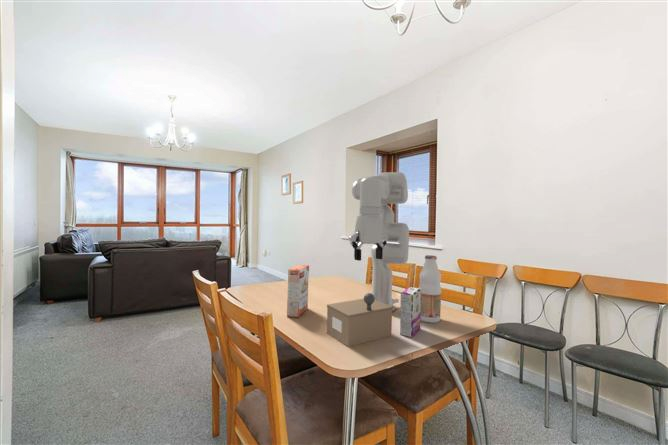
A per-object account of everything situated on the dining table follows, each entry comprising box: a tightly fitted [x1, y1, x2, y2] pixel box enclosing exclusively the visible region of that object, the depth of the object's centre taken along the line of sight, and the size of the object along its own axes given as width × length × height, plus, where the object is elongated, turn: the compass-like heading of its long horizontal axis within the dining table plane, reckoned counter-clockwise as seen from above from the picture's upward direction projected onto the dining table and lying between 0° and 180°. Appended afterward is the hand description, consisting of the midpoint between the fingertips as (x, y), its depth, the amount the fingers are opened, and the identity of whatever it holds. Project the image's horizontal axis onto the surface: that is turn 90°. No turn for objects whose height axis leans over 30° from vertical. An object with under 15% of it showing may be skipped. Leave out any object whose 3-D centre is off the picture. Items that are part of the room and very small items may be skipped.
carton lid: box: [326, 292, 393, 318], centre depth 114 cm, size 20×14×7 cm
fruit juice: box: [418, 254, 442, 324], centre depth 133 cm, size 9×9×28 cm
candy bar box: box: [399, 286, 422, 338], centre depth 118 cm, size 11×5×16 cm, turn 148°
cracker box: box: [286, 264, 310, 318], centre depth 138 cm, size 14×6×21 cm, turn 168°
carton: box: [326, 306, 393, 348], centre depth 115 cm, size 20×14×10 cm
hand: (368, 259), depth 110 cm, fingers open, 9 cm apart
